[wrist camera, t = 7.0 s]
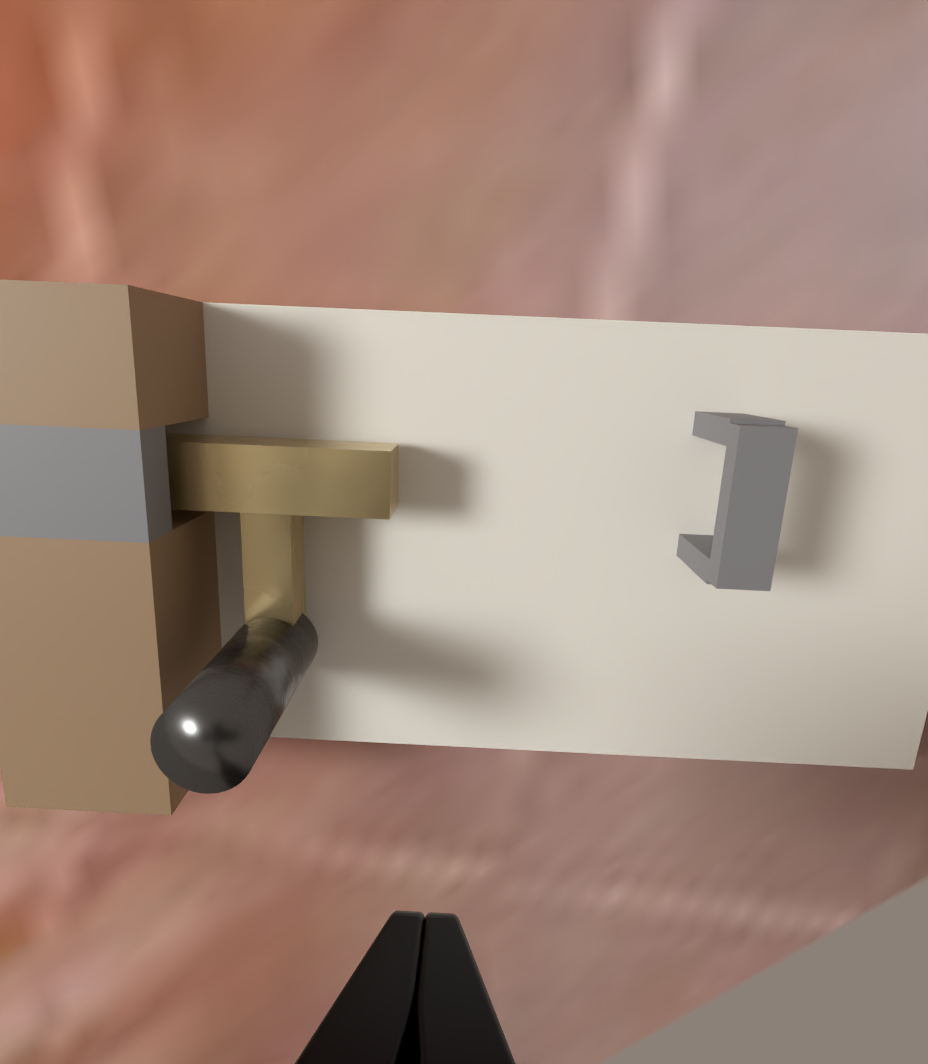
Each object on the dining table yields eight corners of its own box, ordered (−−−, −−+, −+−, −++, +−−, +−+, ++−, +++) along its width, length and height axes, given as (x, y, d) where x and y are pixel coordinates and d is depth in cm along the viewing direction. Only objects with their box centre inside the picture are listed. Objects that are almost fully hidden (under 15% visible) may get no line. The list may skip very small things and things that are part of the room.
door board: (872, 731, 21) (1009, 859, 15) (127, 694, 21) (6, 806, 16) (960, 340, 18) (1169, 329, 12) (88, 303, 18) (-76, 276, 13)
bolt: (395, 671, 18) (359, 801, 12) (37, 653, 18) (-151, 775, 13) (398, 443, 16) (360, 480, 11) (6, 425, 16) (-222, 453, 11)
